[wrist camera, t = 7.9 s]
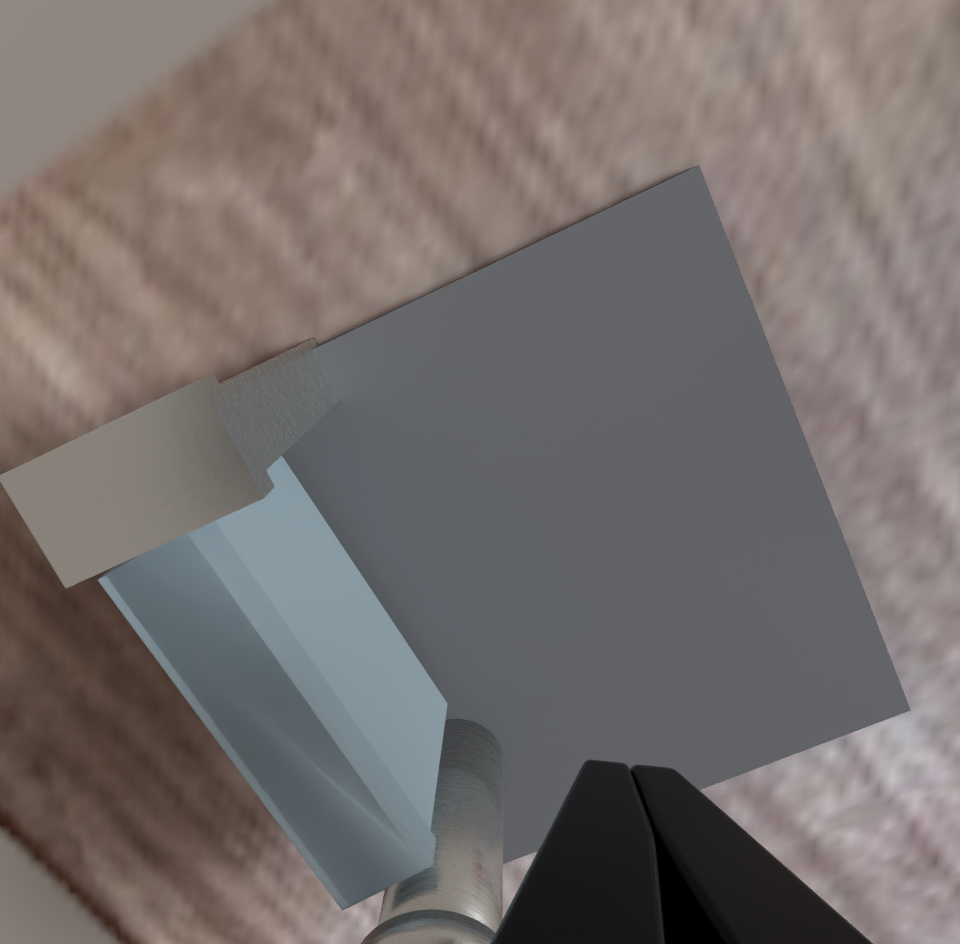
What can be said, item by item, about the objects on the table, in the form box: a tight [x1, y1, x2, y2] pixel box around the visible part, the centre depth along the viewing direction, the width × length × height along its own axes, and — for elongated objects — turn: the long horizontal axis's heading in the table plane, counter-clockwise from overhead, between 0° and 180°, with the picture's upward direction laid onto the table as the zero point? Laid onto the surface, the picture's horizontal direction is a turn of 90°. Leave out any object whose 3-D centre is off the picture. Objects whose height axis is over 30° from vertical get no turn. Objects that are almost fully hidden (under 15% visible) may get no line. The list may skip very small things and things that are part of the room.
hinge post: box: [361, 719, 504, 944], centre depth 18 cm, size 3×3×8 cm
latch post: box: [0, 338, 340, 588], centre depth 16 cm, size 2×3×8 cm, turn 115°
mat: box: [282, 165, 910, 864], centre depth 20 cm, size 13×12×1 cm
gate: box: [98, 456, 447, 910], centre depth 17 cm, size 7×2×6 cm, turn 31°
